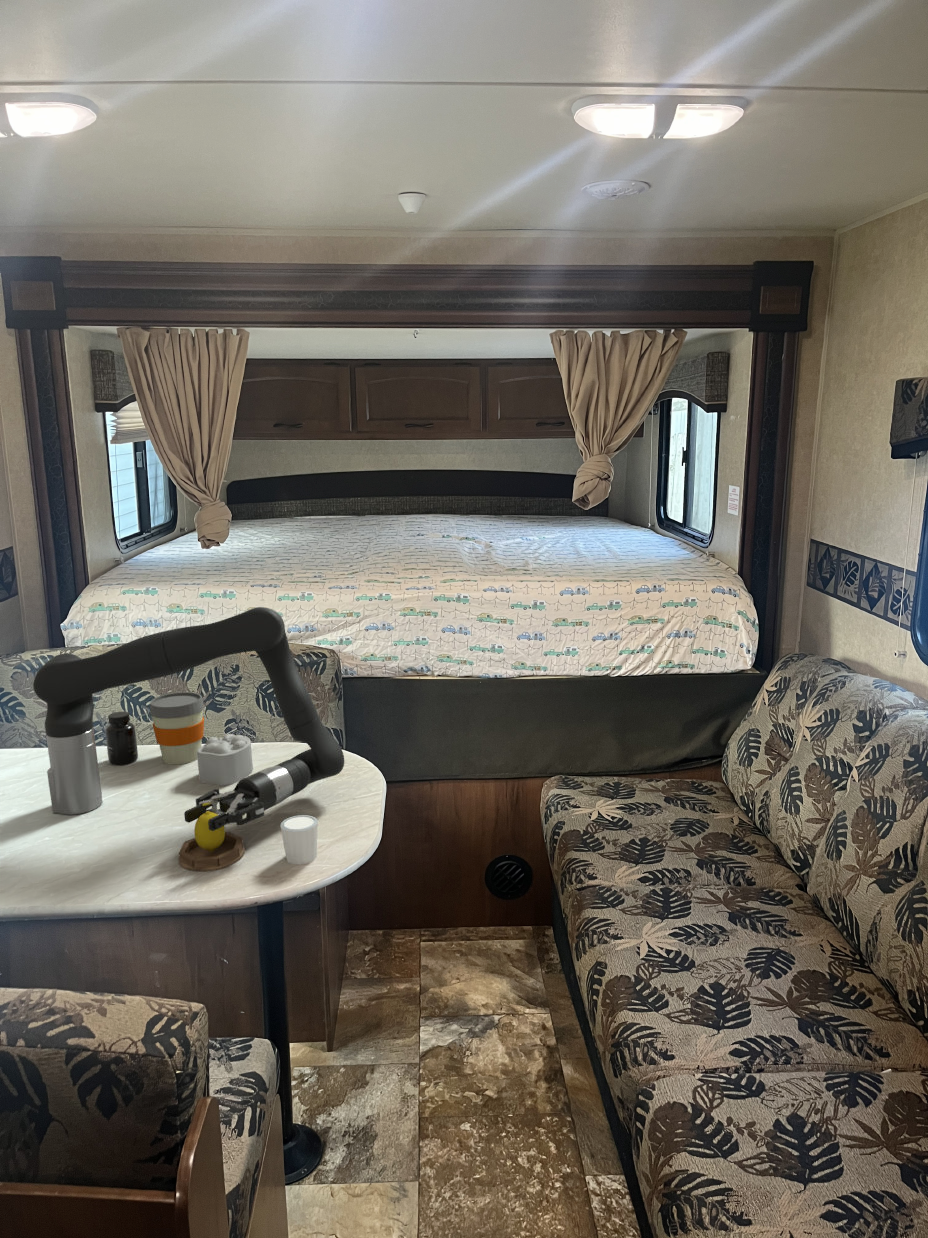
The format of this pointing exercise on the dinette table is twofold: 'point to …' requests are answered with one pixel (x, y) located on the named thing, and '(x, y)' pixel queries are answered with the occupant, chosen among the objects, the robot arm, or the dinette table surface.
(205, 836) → the lemon
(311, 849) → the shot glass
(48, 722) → the robot arm
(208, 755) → the lumpy-topped squat cylinder
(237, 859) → the ring dish
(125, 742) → the supplement bottle
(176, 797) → the dinette table surface
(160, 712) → the reusable coffee cup
